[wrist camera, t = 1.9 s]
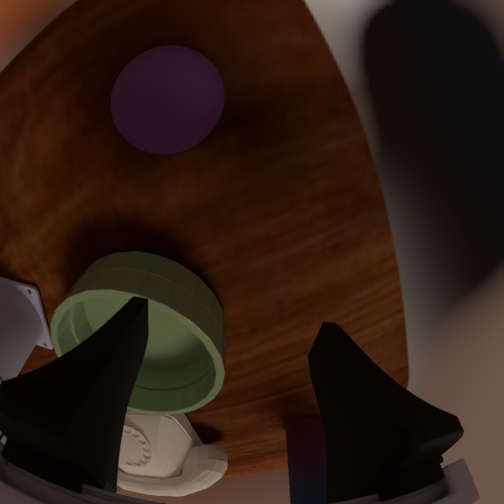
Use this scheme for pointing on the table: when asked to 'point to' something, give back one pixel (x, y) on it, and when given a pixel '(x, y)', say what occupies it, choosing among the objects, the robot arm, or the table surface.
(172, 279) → the sage bowl
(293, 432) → the cup
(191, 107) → the purple ball
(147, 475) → the telephone
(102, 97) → the table surface
